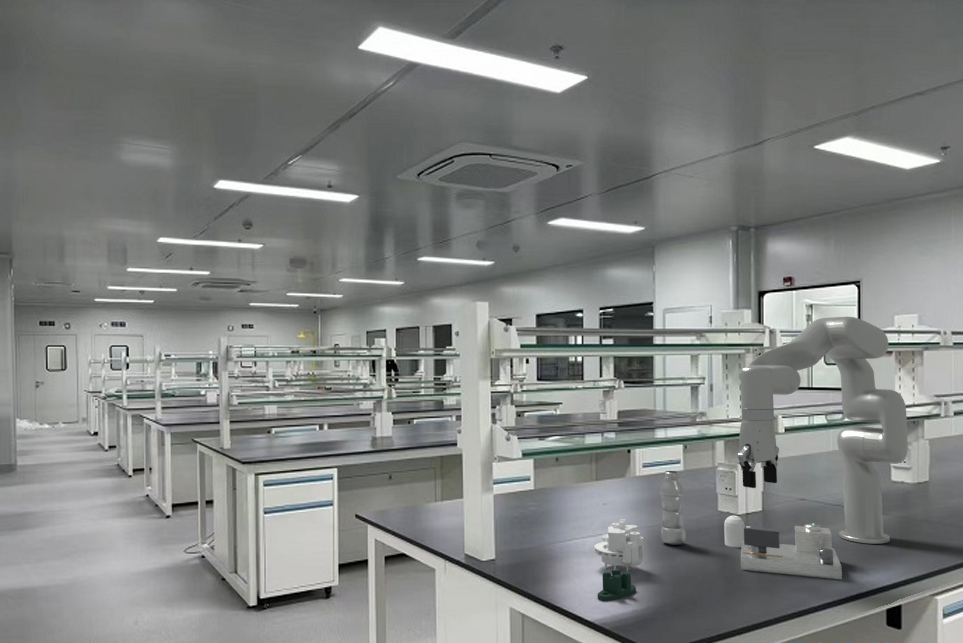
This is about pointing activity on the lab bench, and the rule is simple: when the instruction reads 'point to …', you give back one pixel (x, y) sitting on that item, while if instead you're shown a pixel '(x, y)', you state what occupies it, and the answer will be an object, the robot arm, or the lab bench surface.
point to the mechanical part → (621, 546)
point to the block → (762, 538)
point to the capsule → (734, 531)
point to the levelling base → (797, 555)
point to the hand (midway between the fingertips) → (760, 484)
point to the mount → (616, 586)
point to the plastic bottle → (672, 509)
